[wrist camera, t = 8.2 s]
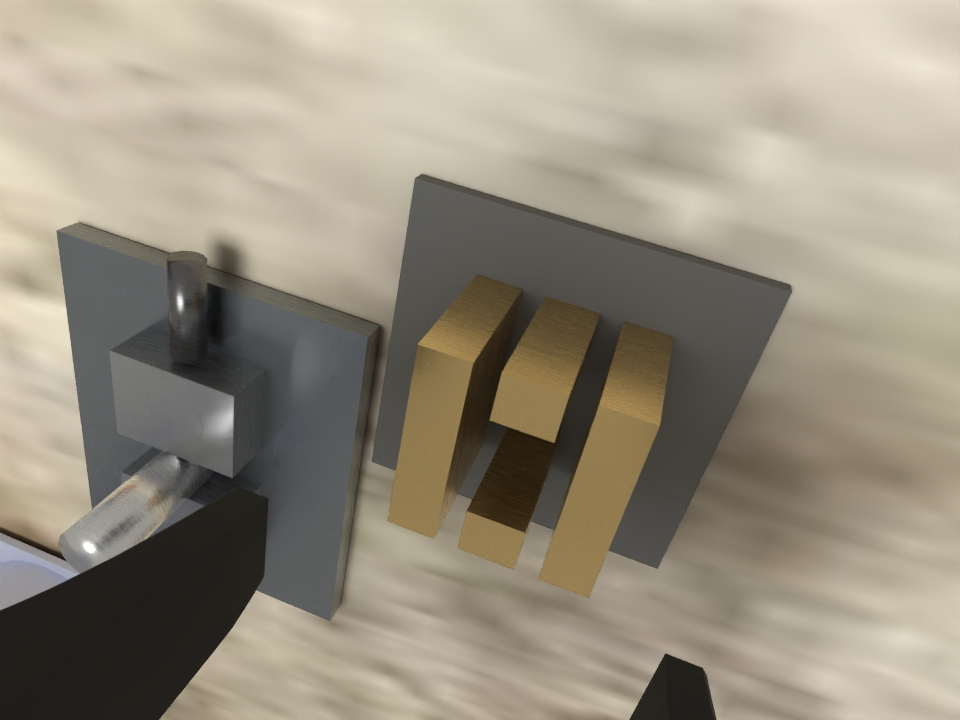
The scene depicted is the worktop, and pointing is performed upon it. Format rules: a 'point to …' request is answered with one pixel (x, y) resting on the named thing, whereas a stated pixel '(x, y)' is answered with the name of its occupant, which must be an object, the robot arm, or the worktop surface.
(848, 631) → the worktop surface
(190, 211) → the worktop surface
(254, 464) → the vise
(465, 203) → the mat
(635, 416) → the tan slotted block
